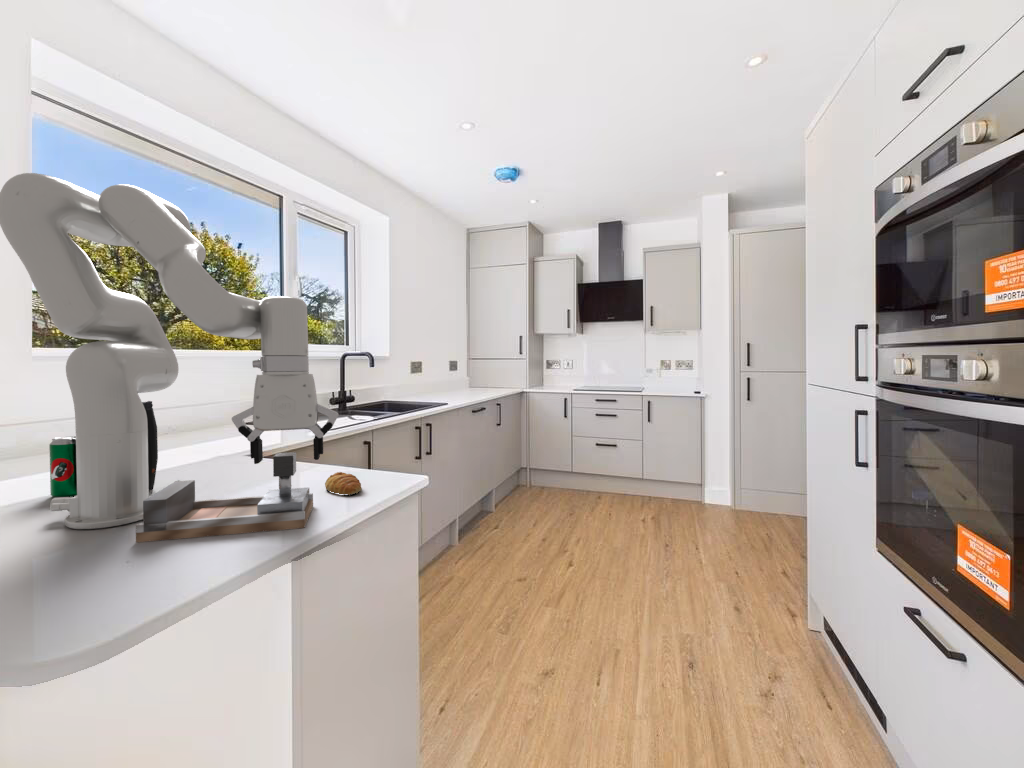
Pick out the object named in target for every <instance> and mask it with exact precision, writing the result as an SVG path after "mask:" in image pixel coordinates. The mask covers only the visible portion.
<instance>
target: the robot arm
mask: <svg viewBox="0 0 1024 768" xmlns="http://www.w3.org/2000/svg"><path fill="white" fill-rule="evenodd" d="M0 228H1V231H2V232H3V234H4V236H5V238H6V240H7V241H8V243H9V244H10V246H11V248H12V249H13V251H14V252H15V254H16V255H17V256H18V258H19V259H20V261H21V263H22V264H23V266H24V268H25V269H26V272H27V273H28V275H29V278H30V280H31V282H32V285H33V286H34V288H35V290H36V292H37V293H38V296H39V298H40V300H41V302H42V304H43V305H44V307H45V309H46V311H47V313H48V315H49V317H50V319H51V321H52V323H53V324H54V326H55V327H56V328H57V330H58V331H59V332H61V334H64V335H66V336H69V337H72V338H76V339H85V340H96V341H92V342H87V343H84V344H82V345H80V346H78V347H77V348H75V349H74V350H73V351H72V352H71V353H70V355H69V356H68V358H67V359H66V364H65V374H66V379H67V382H68V386H69V390H70V393H71V396H72V400H73V407H74V408H73V409H74V410H73V411H74V423H75V426H74V428H75V436H76V463H77V495H76V496H74V497H60V498H54V497H52V499H51V500H50V503H49V504H50V508H49V510H50V512H63V511H68V512H69V515H67V516H66V517H65V518H64V525H65V527H67V528H69V529H74V530H94V529H103V528H112V527H118V526H122V525H129V524H131V523H136V522H139V521H142V520H143V501H144V500H145V499H147V498H149V497H150V496H149V494H150V492H149V491H150V490H149V482H148V424H147V414H146V410H145V408H144V405H143V403H142V402H143V401H142V399H141V398H140V395H139V394H143V393H153V392H160V391H163V390H166V389H168V388H169V387H171V386H172V385H173V384H174V383H176V382H175V381H176V380H177V377H178V375H179V362H178V359H177V358H178V357H176V353H175V351H174V349H173V348H172V345H171V344H170V341H169V339H168V338H167V335H166V333H165V332H164V329H163V327H162V325H161V323H160V321H159V319H158V317H157V316H156V314H155V312H154V311H153V309H152V308H151V306H149V305H148V303H146V302H145V301H144V300H143V299H142V298H140V297H138V296H136V295H134V294H131V293H126V292H122V291H118V290H114V289H111V288H109V287H108V286H106V285H105V284H104V282H103V281H102V279H101V278H100V276H99V274H98V272H97V270H96V268H95V265H94V264H93V262H92V260H91V258H90V256H88V255H87V253H86V252H85V250H83V249H82V248H81V247H80V246H79V244H77V243H76V242H75V240H73V239H72V238H71V236H70V235H72V236H76V237H78V238H82V239H85V240H89V241H91V242H94V243H98V244H102V245H107V246H114V247H115V246H116V247H130V248H131V247H132V248H133V249H134V250H136V252H137V253H139V255H140V256H142V257H143V258H144V259H145V260H146V261H147V262H148V263H149V265H151V266H152V267H153V268H154V269H155V270H156V272H157V273H158V278H159V279H158V280H159V281H160V285H161V288H162V289H163V292H164V293H165V295H166V297H167V298H168V299H169V301H170V302H171V303H172V304H173V305H174V306H175V307H176V308H178V310H179V311H180V312H181V313H182V314H184V316H186V318H188V320H190V321H191V322H192V323H193V324H194V325H196V326H197V327H198V328H200V330H203V331H204V332H206V333H207V334H210V335H213V336H217V337H224V338H225V337H226V338H235V339H239V340H240V339H243V340H258V339H260V342H261V343H260V344H261V345H260V346H261V347H260V348H261V349H260V350H261V356H260V358H259V359H254V360H252V363H251V364H252V368H257V369H259V370H260V371H261V374H256V377H255V383H254V390H253V404H252V407H249V408H248V409H245V410H244V411H241V412H240V413H237V414H236V415H234V416H232V417H231V421H232V423H233V424H234V426H235V427H236V429H237V431H238V432H239V433H240V434H241V435H242V436H243V437H245V438H246V439H247V441H248V442H249V444H250V451H249V452H250V459H253V463H254V465H258V464H260V463H261V462H262V461H263V458H264V457H263V456H264V454H263V439H262V438H261V435H262V434H263V433H264V432H271V431H274V432H275V431H290V430H291V431H295V430H296V431H297V430H307V429H308V430H310V432H312V434H314V437H313V442H312V443H313V460H314V461H318V460H319V459H320V456H321V455H324V436H325V435H326V434H327V433H328V432H329V431H330V430H331V429H332V428H333V426H334V425H335V422H336V421H337V418H338V417H339V413H338V412H337V411H335V410H333V409H330V408H329V407H326V406H324V405H322V404H319V403H318V397H317V388H316V382H315V378H314V374H313V373H310V369H309V365H310V363H309V361H310V360H309V331H308V330H309V329H308V326H309V324H308V306H307V303H306V301H304V300H303V299H301V298H297V297H292V296H285V295H284V296H283V295H282V296H281V295H277V296H276V295H275V296H273V295H272V296H268V297H267V296H266V297H264V298H263V299H262V300H260V299H254V298H250V297H247V296H243V295H240V294H236V293H233V292H229V291H228V290H226V289H225V288H224V287H223V286H222V285H221V284H220V283H219V282H218V281H216V279H215V278H213V276H211V275H210V274H209V272H208V271H207V270H206V269H205V268H204V267H203V266H202V264H203V263H204V262H205V260H206V256H207V255H206V254H207V253H206V251H207V250H206V249H205V246H204V245H203V244H202V243H201V242H200V241H199V240H198V238H197V237H195V236H194V235H193V234H192V233H191V229H192V228H191V222H190V221H189V219H188V217H187V215H186V214H185V213H184V212H183V210H181V208H179V207H178V206H176V205H174V204H173V203H171V202H169V201H167V200H165V199H164V198H162V197H159V196H157V195H155V194H153V193H151V192H150V191H148V190H146V189H143V188H140V187H138V186H136V185H130V184H124V183H123V184H122V183H121V184H120V183H119V184H114V185H110V186H108V187H106V188H105V189H103V191H101V193H100V194H96V193H94V192H92V191H89V190H87V189H85V188H83V187H80V186H78V185H76V184H74V183H72V182H69V181H67V180H63V179H61V178H57V177H55V176H52V175H49V174H47V175H46V174H42V173H36V172H24V173H20V174H16V175H14V176H12V177H11V178H9V179H8V180H7V181H6V182H5V183H4V184H3V186H2V187H1V190H0ZM319 414H322V415H324V416H326V417H328V420H327V422H326V423H325V424H324V425H323V426H322V427H321V425H320V424H319V423H318V421H319ZM251 416H252V423H253V427H254V429H252V428H250V427H249V426H248V425H247V424H246V422H245V419H247V418H249V417H251Z"/></svg>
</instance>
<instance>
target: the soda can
mask: <svg viewBox="0 0 1024 768" xmlns="http://www.w3.org/2000/svg"><path fill="white" fill-rule="evenodd" d="M48 445H49V449H48V450H49V482H50V484H49V487H50V492H49V493H50V496H52V498H60V497H68V498H71V497H73V496H76V495H77V463H76V435H75V436H74V435H73V436H63V437H62V436H60V437H55V438H52V439H51V442H50V443H49V444H48Z"/></svg>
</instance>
